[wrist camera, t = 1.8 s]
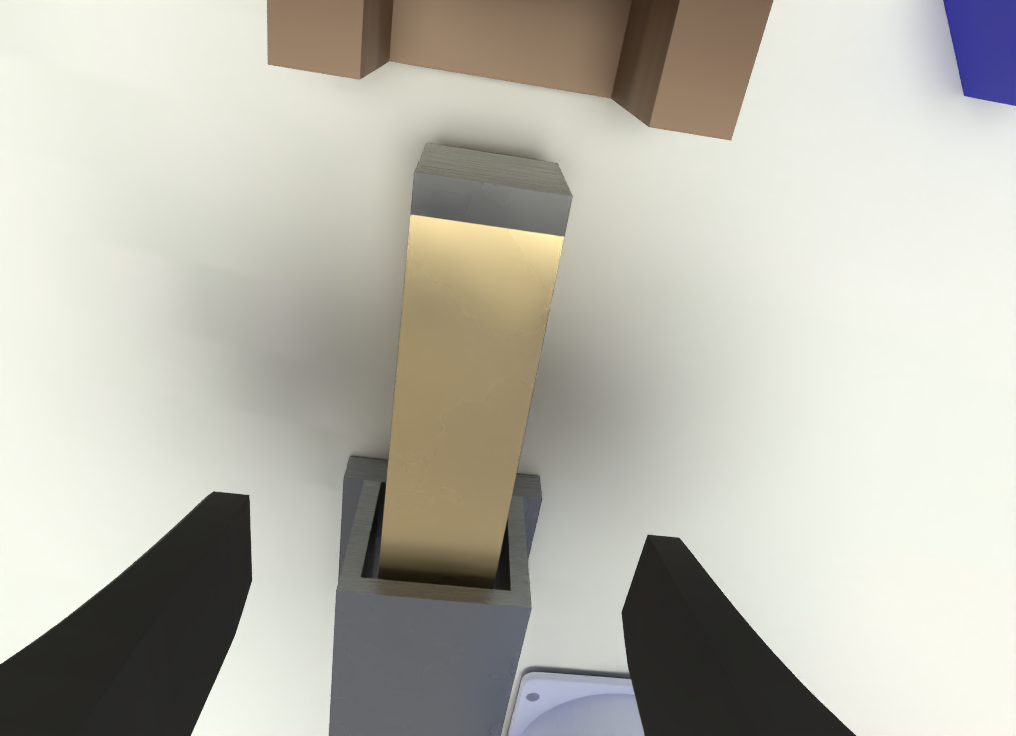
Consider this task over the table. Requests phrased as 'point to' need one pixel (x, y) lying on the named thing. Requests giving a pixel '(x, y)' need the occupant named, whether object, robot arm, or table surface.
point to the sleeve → (424, 627)
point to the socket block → (545, 48)
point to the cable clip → (985, 47)
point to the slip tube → (467, 358)
